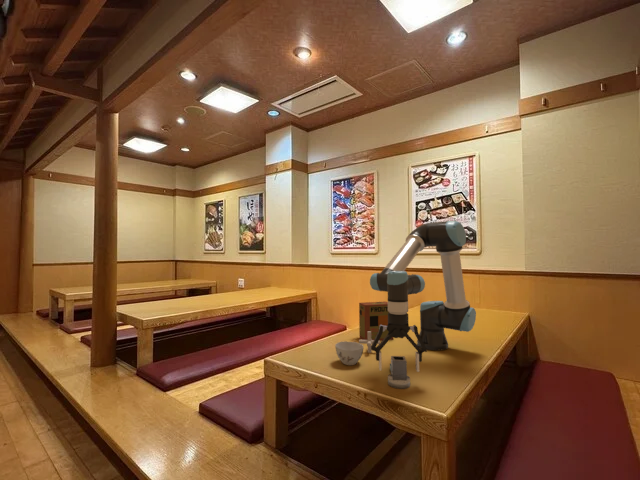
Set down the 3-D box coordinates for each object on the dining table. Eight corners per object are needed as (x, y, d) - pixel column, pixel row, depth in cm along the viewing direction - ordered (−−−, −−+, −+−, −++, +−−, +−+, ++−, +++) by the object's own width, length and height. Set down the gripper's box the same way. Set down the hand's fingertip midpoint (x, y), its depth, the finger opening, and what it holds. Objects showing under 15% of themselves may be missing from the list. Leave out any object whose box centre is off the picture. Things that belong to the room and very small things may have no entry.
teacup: (354, 370, 132) (354, 351, 133) (329, 364, 140) (329, 346, 140) (371, 360, 145) (371, 342, 145) (347, 355, 152) (347, 338, 152)
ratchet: (403, 369, 133) (403, 352, 134) (411, 389, 114) (411, 369, 114) (384, 368, 134) (383, 351, 135) (389, 388, 115) (388, 368, 115)
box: (365, 342, 174) (365, 305, 175) (359, 337, 183) (359, 302, 184) (393, 339, 178) (392, 303, 179) (386, 335, 187) (386, 301, 188)
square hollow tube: (406, 380, 116) (406, 360, 116) (392, 379, 116) (392, 360, 117) (404, 375, 121) (404, 356, 121) (391, 374, 121) (391, 355, 122)
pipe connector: (379, 356, 150) (379, 334, 151) (358, 355, 152) (358, 333, 153) (380, 349, 160) (379, 329, 160) (360, 348, 162) (359, 328, 162)
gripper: (429, 311, 122) (430, 367, 121) (364, 310, 125) (364, 365, 124) (434, 314, 114) (435, 374, 114) (364, 313, 117) (365, 372, 116)
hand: (398, 370), depth 119 cm, fingers open, 13 cm apart
